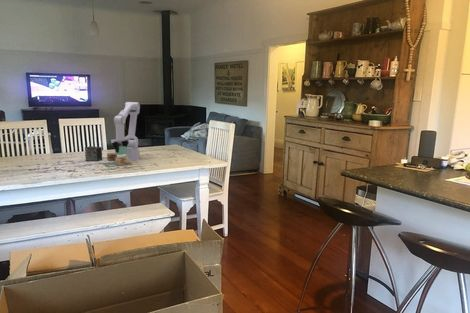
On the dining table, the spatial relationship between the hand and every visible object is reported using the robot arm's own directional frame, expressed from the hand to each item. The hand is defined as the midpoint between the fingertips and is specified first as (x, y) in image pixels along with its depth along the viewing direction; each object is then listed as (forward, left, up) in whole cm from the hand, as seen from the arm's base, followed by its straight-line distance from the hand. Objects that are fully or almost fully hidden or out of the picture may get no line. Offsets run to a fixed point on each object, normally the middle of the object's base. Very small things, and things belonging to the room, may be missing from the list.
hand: (120, 151), depth 253 cm
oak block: (0, 0, -9) cm, 9 cm away
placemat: (+3, -1, -9) cm, 10 cm away
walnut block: (+2, -16, -10) cm, 18 cm away
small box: (+13, -24, -10) cm, 29 cm away
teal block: (0, 0, -2) cm, 2 cm away
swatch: (+8, +3, -9) cm, 12 cm away
